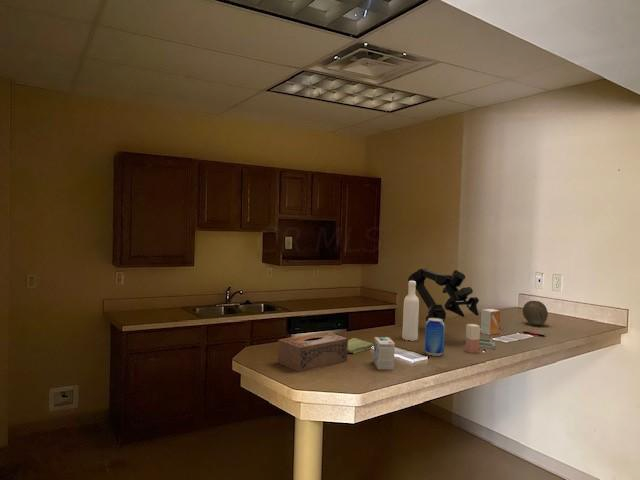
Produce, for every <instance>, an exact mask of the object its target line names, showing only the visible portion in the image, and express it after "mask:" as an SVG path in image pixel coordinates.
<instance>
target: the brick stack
mask: <svg viewBox="0 0 640 480" xmlns="http://www.w3.org/2000/svg"><path fill="white" fill-rule="evenodd" d="M465 327H466V328H465V348H464V350H465V351H466V352H469V353H470V354H479V352H480V348H479V339H480V336H481V335H480V334H481V325H479V324H475V323H467V324H466V326H465Z"/></svg>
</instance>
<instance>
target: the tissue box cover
mask: <svg viewBox="0 0 640 480" xmlns="http://www.w3.org/2000/svg"><path fill="white" fill-rule="evenodd" d="M348 340H349V338H347V337H345V336H341V335H338V334H335V333H332V332H328V331H321V332H316V333H310V334H303V335H299V336H293V337H287V338H286V337H285V338H281V339H278V341H277V343H278V351H277V352H278V353H277V363H278V364H279V363H280V365H282V366H284V365H285V367H286V366H287V368H288V367H289V369H290V368H291V370H293V369H294V370H293V371H295V370H296V371H295V372H297V371H298V373H302V372H301V371H303V372H307V371H311V370H314V368H316V369H319V367H320V368H324V367H328V366H333V365H337V364H341V363H345V362H348ZM310 369H311V370H310ZM306 370H307V371H306Z"/></svg>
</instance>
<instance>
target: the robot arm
mask: <svg viewBox="0 0 640 480" xmlns="http://www.w3.org/2000/svg"><path fill="white" fill-rule="evenodd" d="M426 279H429V280H432V281H434V282H435V284H437V285H438V286H439V287H442V286H443V288H442V289H443V290H442V293H443V294H447V295H448V296H449V298H448V299H447V300H446V302H445V303H444V306H443V305H442V304H437V303H436V301H435V300H434V298H433V297H432V295H431V294H430V291H428V289H427V288H426V286H425V283H426V282H425V281H426ZM465 279H466V275H465V274H464V273H462V272H461V271H459V270H454V271H453V273H452V274H451V275H450V274H443V273H439V272H438V273H437V272H435V271H433V270H430V269H427V268H419V269H418V270H416V271H415V272H413V273H411V274H410V275H409V276H408V278H407V283H409V281H416V290H415V291H417V293H418V295H420V298H421V299H422V301H423V303H424V304H425V306H426V308H427V309H428V310H427V313H428V314H427V315H426V317H425V323H426V322H427V321H428V318H439V319H442V320H443V323H445V320H446V317H447V312H446V311H449V312H452V313H454V314H456V315H458V316H460V317H463V318H464V317H465V313H464V312H463V311H462V309H461V307H460V306H466V307H467V308H468V310H469V311H470V313H473V314H474V315H475V316H477V317H478V316H479V310H478V307H477V305H478V304H479V302H480V300H479V298H478V297H475V296H473V297H472V296H471V297H469V295H472V293H473V292H474V291H473V290H474V289H473V288H471V287H470V286H467V287H462V288H460V289H459V287H461V285H462V284H463V283H464V281H465ZM468 297H469V298H468ZM467 299H468V300H467Z"/></svg>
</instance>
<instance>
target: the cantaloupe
mask: <svg viewBox="0 0 640 480" xmlns="http://www.w3.org/2000/svg"><path fill="white" fill-rule="evenodd" d="M548 313H549V312H548V308H547V306H546V305H545V304H544V303H543V302H541V301H539V300H530V301H529V300H528V301H527V302H526V303H524V304H523V306H522V315H523V318H524V319H525V320H526V321H527V322H528V323H530V324H531V325H533V326H536V327H538V326H542V325H544V324H545V323H546V321H547V319H548V317H549V316H548V315H549V314H548Z"/></svg>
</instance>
